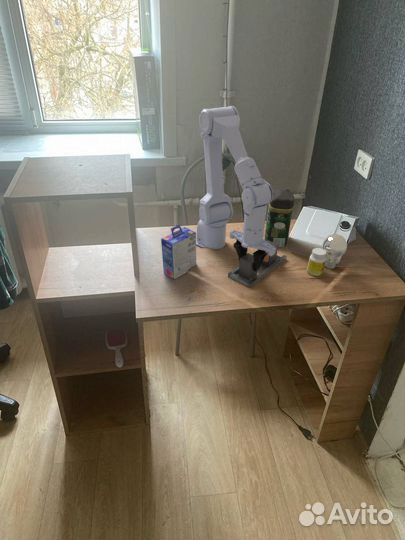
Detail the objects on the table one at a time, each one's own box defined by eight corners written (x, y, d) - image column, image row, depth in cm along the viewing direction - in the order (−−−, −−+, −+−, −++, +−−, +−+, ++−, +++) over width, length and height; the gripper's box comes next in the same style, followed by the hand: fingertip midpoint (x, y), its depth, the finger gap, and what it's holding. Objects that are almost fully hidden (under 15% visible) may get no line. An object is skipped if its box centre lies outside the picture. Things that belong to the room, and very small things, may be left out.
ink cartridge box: (184, 259, 125) (184, 219, 117) (197, 266, 122) (198, 225, 114) (161, 272, 119) (159, 230, 111) (174, 280, 116) (173, 238, 108)
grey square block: (238, 275, 117) (240, 258, 113) (247, 268, 120) (249, 252, 116) (249, 280, 115) (251, 263, 111) (258, 274, 118) (260, 257, 114)
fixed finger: (257, 261, 123) (259, 245, 120) (265, 256, 126) (267, 240, 122) (267, 266, 121) (270, 250, 117) (275, 260, 124) (278, 244, 120)
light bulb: (313, 268, 122) (321, 235, 115) (324, 259, 127) (332, 227, 120) (333, 278, 119) (342, 244, 112) (344, 268, 123) (353, 235, 116)
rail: (227, 279, 117) (228, 273, 116) (264, 252, 129) (265, 246, 128) (249, 290, 113) (250, 284, 111) (285, 261, 125) (286, 256, 124)
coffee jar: (264, 234, 139) (270, 185, 128) (286, 236, 138) (295, 187, 128) (263, 248, 131) (270, 197, 121) (287, 251, 131) (296, 199, 120)
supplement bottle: (322, 280, 118) (328, 256, 113) (306, 277, 118) (311, 254, 114) (321, 271, 122) (327, 248, 117) (306, 269, 122) (311, 246, 117)
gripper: (224, 222, 109) (221, 262, 117) (268, 240, 101) (262, 282, 109) (239, 213, 113) (236, 253, 121) (282, 230, 106) (275, 271, 114)
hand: (249, 266), depth 116 cm, fingers open, 4 cm apart
